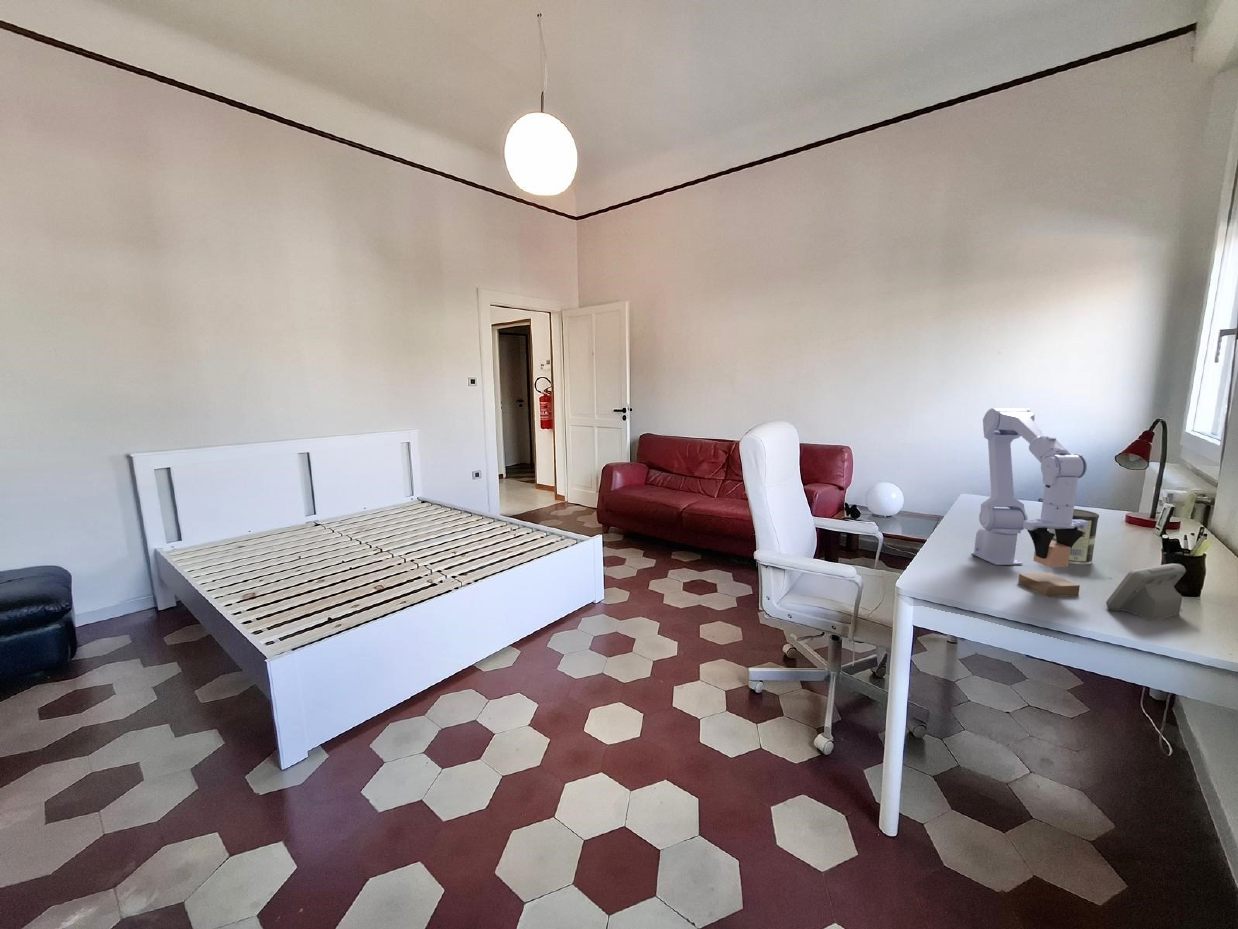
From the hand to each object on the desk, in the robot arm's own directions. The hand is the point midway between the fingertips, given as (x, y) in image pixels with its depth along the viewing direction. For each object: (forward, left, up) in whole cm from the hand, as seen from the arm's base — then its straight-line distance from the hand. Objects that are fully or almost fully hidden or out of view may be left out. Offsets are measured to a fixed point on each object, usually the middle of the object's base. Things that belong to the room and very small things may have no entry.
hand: (1050, 557), depth 119 cm
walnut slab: (0, 0, -9) cm, 9 cm away
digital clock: (+12, +11, -9) cm, 18 cm away
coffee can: (-20, +25, -9) cm, 33 cm away
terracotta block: (0, 0, -2) cm, 2 cm away
